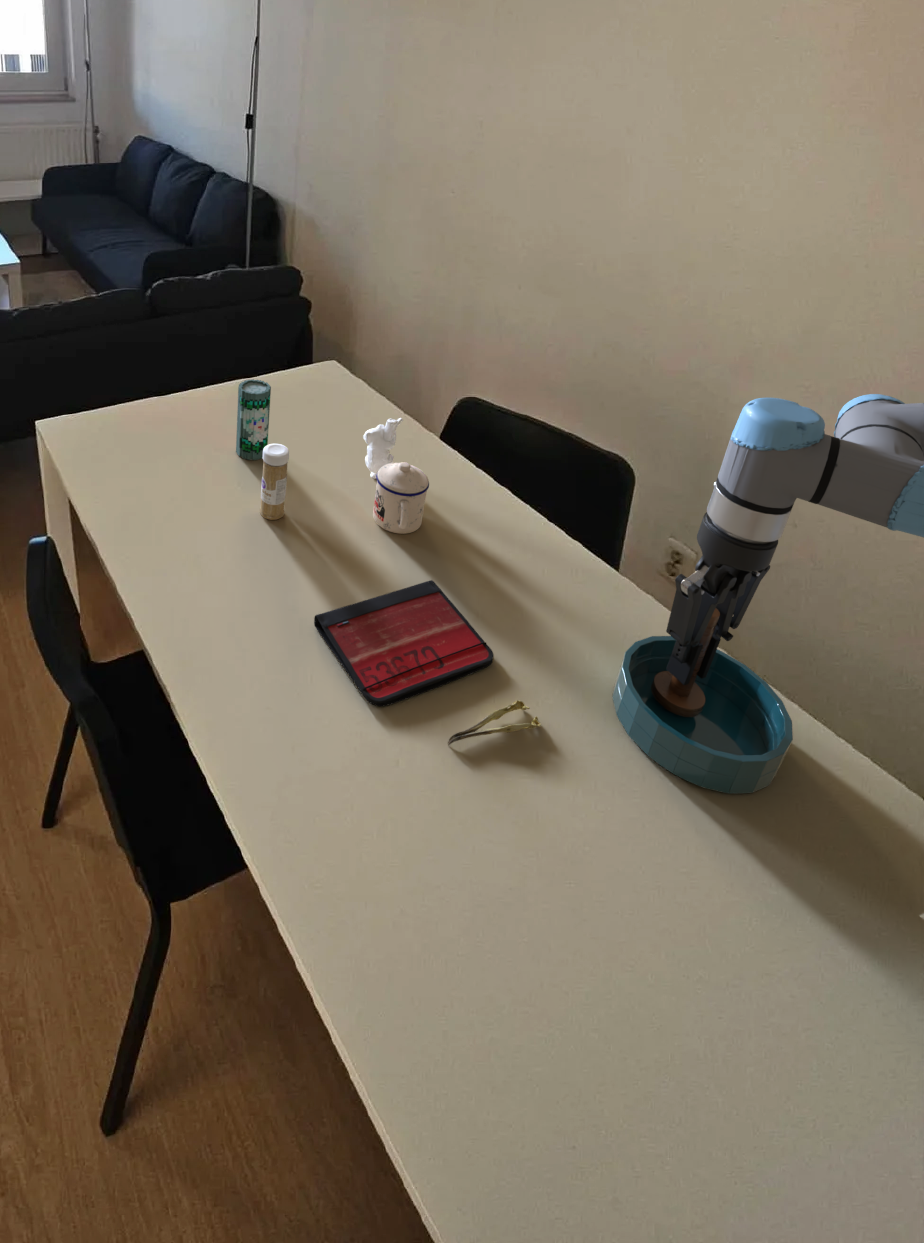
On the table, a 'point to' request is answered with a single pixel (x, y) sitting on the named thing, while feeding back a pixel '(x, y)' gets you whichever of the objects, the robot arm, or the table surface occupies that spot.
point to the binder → (403, 643)
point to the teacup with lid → (400, 497)
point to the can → (252, 418)
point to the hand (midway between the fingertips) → (686, 672)
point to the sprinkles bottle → (274, 481)
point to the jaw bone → (506, 729)
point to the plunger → (676, 694)
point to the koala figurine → (380, 445)
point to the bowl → (705, 721)
